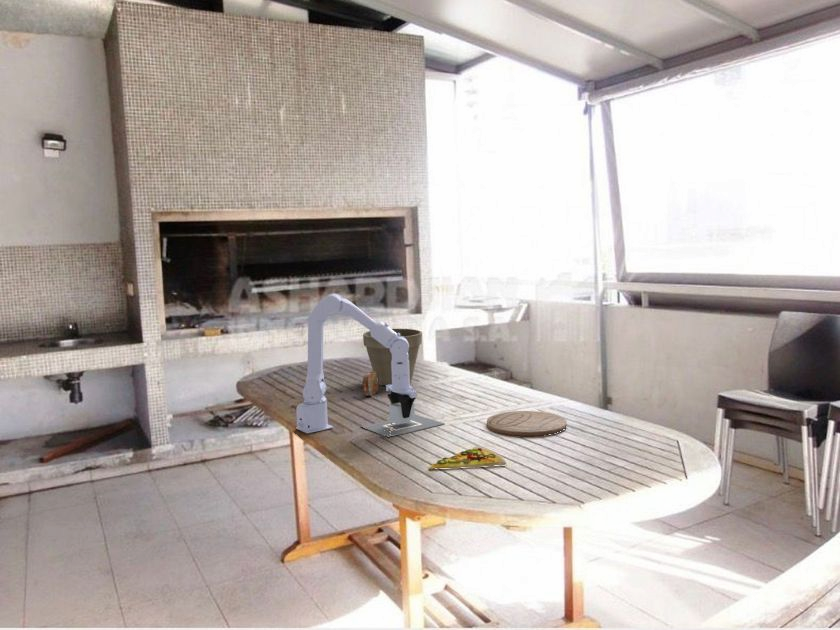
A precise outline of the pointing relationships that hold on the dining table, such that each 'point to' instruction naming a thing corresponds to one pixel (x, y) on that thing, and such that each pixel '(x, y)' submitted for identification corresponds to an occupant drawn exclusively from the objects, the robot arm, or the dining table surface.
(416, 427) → the mat
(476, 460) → the pizza slice
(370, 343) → the plant pot
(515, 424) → the trivet
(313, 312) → the robot arm
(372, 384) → the bread slice
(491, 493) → the dining table surface
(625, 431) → the dining table surface
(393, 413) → the card box
